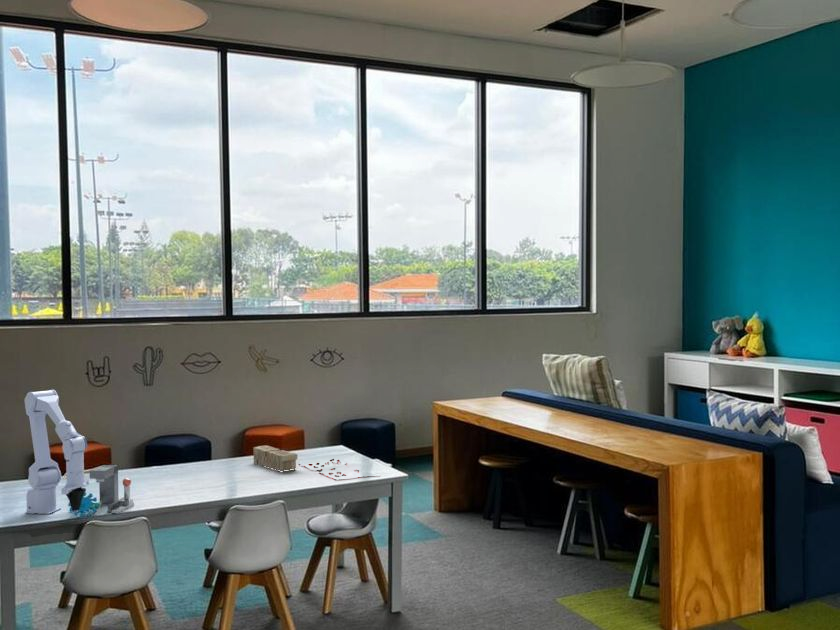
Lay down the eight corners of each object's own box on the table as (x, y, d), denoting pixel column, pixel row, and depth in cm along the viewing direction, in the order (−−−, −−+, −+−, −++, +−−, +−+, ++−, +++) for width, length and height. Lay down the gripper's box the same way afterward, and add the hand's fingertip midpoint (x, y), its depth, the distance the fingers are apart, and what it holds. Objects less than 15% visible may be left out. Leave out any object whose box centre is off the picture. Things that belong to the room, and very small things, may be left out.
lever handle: (121, 504, 307) (121, 479, 307) (125, 502, 310) (124, 477, 310) (129, 505, 307) (128, 479, 306) (132, 503, 310) (132, 477, 309)
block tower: (252, 465, 388) (282, 473, 365) (251, 447, 388) (281, 454, 364) (267, 462, 392) (297, 471, 369) (266, 445, 392) (297, 452, 369)
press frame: (68, 512, 301) (68, 474, 301) (92, 500, 317) (91, 464, 317) (117, 513, 299) (117, 475, 298) (138, 502, 315) (138, 465, 315)
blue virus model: (67, 514, 292) (69, 490, 298) (65, 523, 295) (68, 499, 302) (100, 515, 296) (102, 491, 303) (98, 524, 300) (100, 500, 306)
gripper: (74, 476, 284) (75, 515, 284) (96, 467, 298) (97, 504, 298) (55, 475, 284) (56, 515, 285) (78, 466, 299) (78, 504, 299)
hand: (75, 509), depth 292 cm, fingers closed
